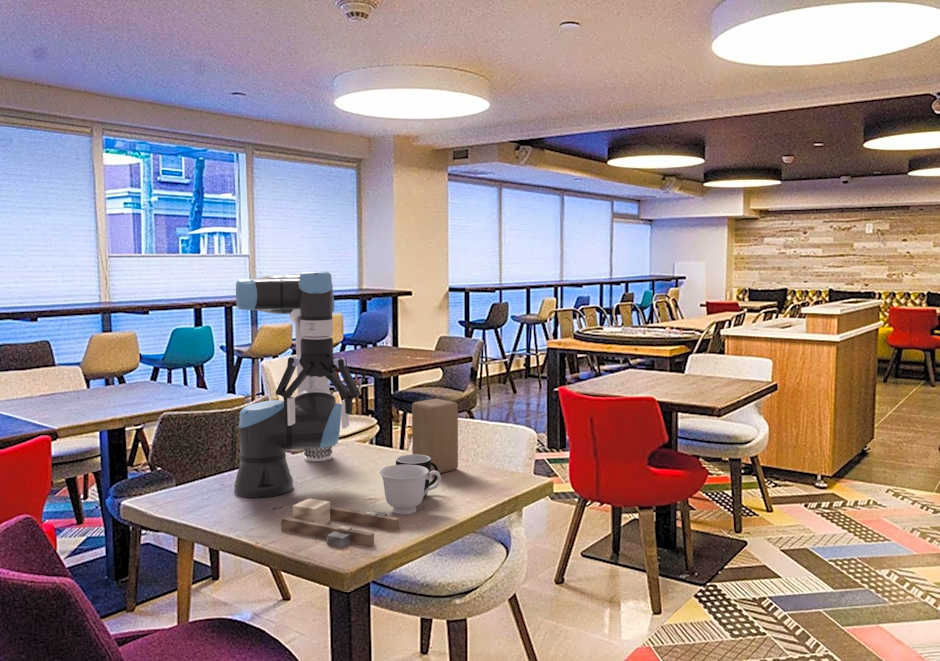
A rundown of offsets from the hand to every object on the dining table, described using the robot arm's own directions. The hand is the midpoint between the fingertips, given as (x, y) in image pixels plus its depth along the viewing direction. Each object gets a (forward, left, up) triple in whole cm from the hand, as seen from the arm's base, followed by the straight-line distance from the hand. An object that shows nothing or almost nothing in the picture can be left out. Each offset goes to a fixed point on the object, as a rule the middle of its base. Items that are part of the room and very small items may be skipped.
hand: (318, 425), depth 181 cm
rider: (+2, -6, -22) cm, 23 cm away
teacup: (+18, +12, -22) cm, 31 cm away
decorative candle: (-33, +43, -22) cm, 58 cm away
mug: (+14, +23, -22) cm, 35 cm away
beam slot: (+10, -6, -22) cm, 25 cm away
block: (+6, +47, -22) cm, 52 cm away
